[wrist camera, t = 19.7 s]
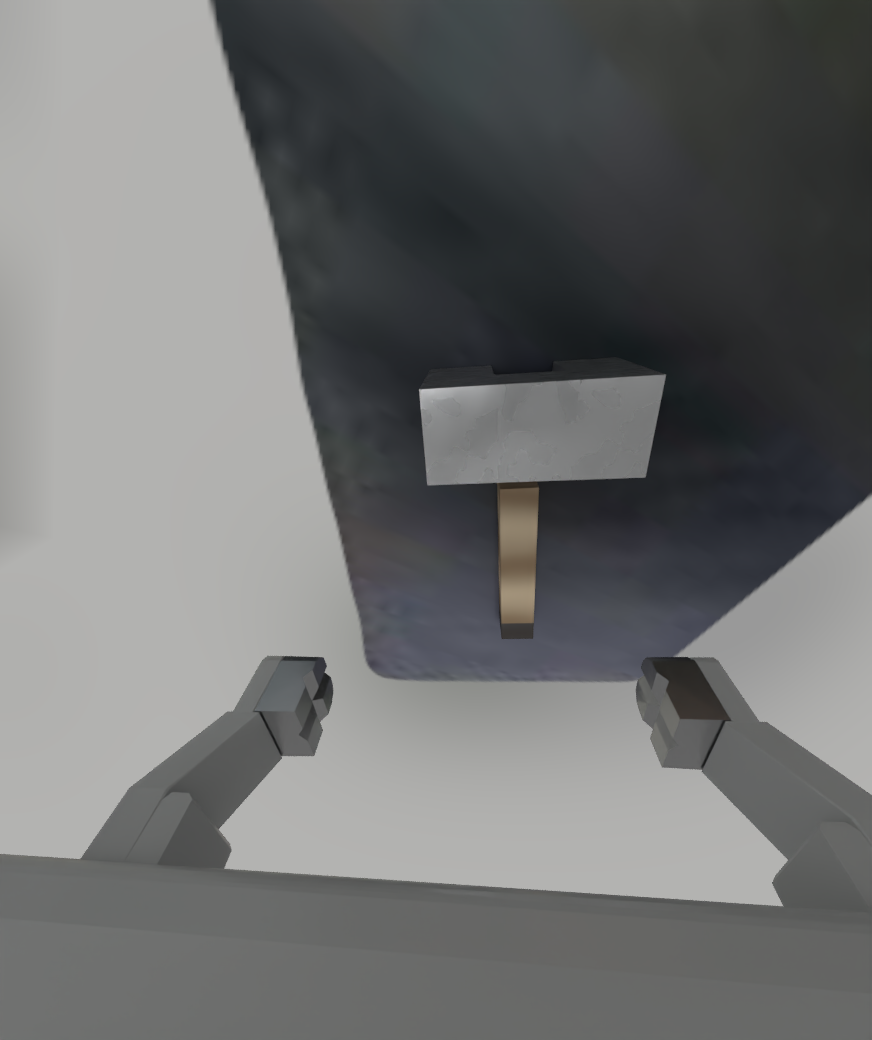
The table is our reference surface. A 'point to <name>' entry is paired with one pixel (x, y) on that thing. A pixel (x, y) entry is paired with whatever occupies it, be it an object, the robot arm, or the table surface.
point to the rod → (517, 557)
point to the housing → (540, 422)
